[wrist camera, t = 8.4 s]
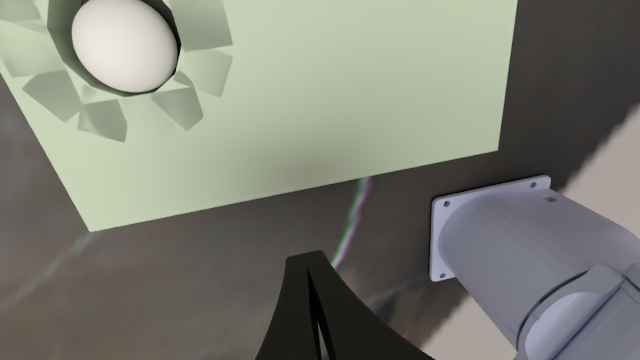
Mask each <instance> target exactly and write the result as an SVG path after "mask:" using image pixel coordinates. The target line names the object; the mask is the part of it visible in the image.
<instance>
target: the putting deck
mask: <svg viewBox="0 0 640 360" xmlns="http://www.w3.org/2000/svg"><path fill="white" fill-rule="evenodd" d="M163 1H164V3H165V4H166V5H167V6H168V7H169V8H170V9H171V10H172V14H173V17H174V20H175V24H176V27H177V30H178V34H179V37H180V40H181V43H182V46H181V50H180V55H179V59H178V64H177V68H176V72H175V75H173V76H172V77H171V78H170V79H169V80H168V81H167V82H166V83H165V84H164V85H162V86H160V87H157V88H155V89H153V90H150V91H145V92H126V91H121V90H118V89H115V88H112V87H110V86H108V85H106V84H104V83H103V82H101V81H99V80H98V79H97V78H95V77H94V76H93V75H92V74H91V73H90V72H89V71H88V70H87V69H86V68H85V67H84V65H83V64H82V62H81V61H80V60H79V58H78V56H77V54H76V51H75V49H74V45H73V41H72V25H73V21H74V18H75V16H76V14H77V12H78V11H79V10H80V8H81V0H0V72H1V74H2V76H3V78H4V80H5V81H6V83H7V85H8V87H9V88H10V90H11V92H12V94H13V96H14V97H15V99H16V101H17V103H18V104H19V106H20V108H21V110H22V112H23V113H24V115H25V117H26V119H27V121H28V122H29V124H30V126H31V128H32V129H33V131H34V133H35V135H36V137H37V138H38V140H39V142H40V144H41V145H42V147H43V149H44V151H45V153H46V154H47V156H48V158H49V160H50V161H51V163H52V165H53V167H54V169H55V170H56V172H57V174H58V176H59V178H60V179H61V181H62V183H63V185H64V186H65V188H66V190H67V192H68V194H69V195H70V197H71V199H72V201H73V202H74V204H75V206H76V208H77V210H78V211H79V213H80V215H81V217H82V219H83V220H84V222H85V224H86V226H87V227H88V229H89V231H90V232H93V231H98V230H103V229H108V228H113V227H118V226H123V225H128V224H133V223H138V222H143V221H148V220H153V219H158V218H163V217H168V216H173V215H178V214H183V213H188V212H193V211H198V210H203V209H208V208H213V207H218V206H223V205H228V204H233V203H238V202H243V201H248V200H253V199H258V198H263V197H268V196H273V195H277V194H282V193H287V192H292V191H297V190H302V189H307V188H312V187H317V186H322V185H327V184H332V183H337V182H342V181H347V180H352V179H357V178H362V177H367V176H372V175H377V174H382V173H387V172H392V171H397V170H402V169H407V168H412V167H417V166H422V165H427V164H432V163H437V162H442V161H447V160H452V159H457V158H462V157H467V156H472V155H477V154H482V153H487V152H492V151H497V150H498V143H499V136H500V128H501V121H502V113H503V106H504V98H505V91H506V83H507V75H508V68H509V60H510V53H511V45H512V38H513V30H514V23H515V15H516V8H517V0H163Z"/></svg>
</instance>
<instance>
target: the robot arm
mask: <svg viewBox="0 0 640 360" xmlns="http://www.w3.org/2000/svg"><path fill="white" fill-rule="evenodd" d="M550 182H551V179H550V177H548V176H546V175H540V176H536V177H531V178H526V179H522V180H517V181H512V182H508V183H503V184H498V185H493V186H489V187H484V188H479V189H475V190H470V191H465V192H461V193H456V194H451V195H447V196H442V197H438V198H436V199H434V201H433V202H432V215H431V244H430V273H429V276H430V278H431V280H432V281H440V280H444V279H448V278H452V277H456V278H457V279H458V280H459V281H460V282H461V284H462V285H463V286H464V287H465V289H466V290H467V291H468V292H469V293H470V295H471V296H472V297H473V298H474V300H475V301H476V302H477V303H478V304H479V306H480V307H481V308H482V309H483V311H484V312H485V313H486V314H487V315H488V316H489V318H490V319H491V320H492V322H493V323H494V324H495V325H496V326H497V328H498V329H499V330H500V331H501V333H502V334H503V335H504V336H505V337H506V339H507V340H508V341H509V342H510V344H511V345H512V346H513V347H514V348H515V350H516V351H517V352H518V353H517V355H516V357H515V358H514V360H640V240H639V239H638V238H637V237H636V236H635V235H634V234H632V233H631V232H630V231H628V230H627V229H625V228H623V227H622V226H620V225H618V224H616V223H615V222H613V221H611V220H609V219H607V218H605V217H603V216H601V215H599V214H597V213H595V212H594V211H592V210H590V209H588V208H586V207H584V206H582V205H580V204H578V203H576V202H574V201H573V200H571V199H568V198H567V197H565V196H563V195H561V194H559V193H557V192H555V191H553V190H552V189H550V188H549V187H550ZM446 201H447V203H446V204H444V203H445V202H446ZM317 320H318V321H317ZM318 323H319V327H320V330H321V333H322V336H323V340H324V343H325V346H326V349H327V353H328V356H329V359H330V360H435V359H433V358H432V357H430V356H429V355H427V354H426V353H424V352H423V351H421V350H420V349H419V348H417V347H416V346H414V345H413V344H412V343H410V342H409V341H408V340H406V339H405V338H403V337H402V336H401V335H399V334H398V333H397V332H395V331H394V330H393V329H392V328H391V327H389V326H388V325H387V324H386V323H385V322H383V321H382V320H381V319H380V318H379V317H378V316H377V315H375V314H374V313H373V312H372V311H371V310H370V309H369V308H368V307H367V306H366V305H365V304H364V303H363V302H362V301H361V300H360V299H359V298H358V297H357V296H356V295H355V294H354V293H353V291H352V290H351V289H350V288H349V287H348V286H347V285H346V283H345V282H344V281H343V280H342V279H341V277H340V276H339V275H338V274H337V272H336V271H335V270H334V268H333V267H332V265H331V264H330V262H329V261H328V259H327V258H326V256H325V254H324V252H323V251H321V250H318V251H313V252H309V253H304V254H300V255H295V256H291V257H288V258H287V259H286V266H285V273H284V279H283V283H282V287H281V291H280V295H279V299H278V302H277V306H276V309H275V311H274V314H273V317H272V320H271V323H270V326H269V329H268V331H267V334H266V336H265V339H264V341H263V343H262V346H261V348H260V350H259V352H258V354H257V357H256V359H255V360H322V358H321V348H320V339H319V330H318Z"/></svg>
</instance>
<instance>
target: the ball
mask: <svg viewBox="0 0 640 360" xmlns="http://www.w3.org/2000/svg"><path fill="white" fill-rule="evenodd" d="M72 41H73V45H74V49H75V51H76V54H77V56H78V58H79V60H80V61H81V62H82V64H83V65H84V67H85V68H86V69H87V70H88V71H89V72H90V73H91V74H92V75H93V76H94V77H95V78H97V79H98V80H99V81H101V82H103V83H104V84H106V85H108V86H110V87H112V88H115V89H118V90H121V91H126V92H145V91H150V90H153V89H155V88H157V87H159V86H161V85H162V84H164V83H165V82H166V81H167V80H168V79H169V78H170V76H171V75H172V73H173V71H174V69H175V67H176V64H177V57H178V50H177V43H176V40H175V37H174V34H173V32H172V30H171V28H170V27H169V25H168V24H167V22H166V21H165V20H164V18H163V17H162V16H161V15H160V14H159V13H158V12H157V11H155V10H154V9H153V8H152V7H150V6H149V5H147V4H145V3H144V2H142V1H140V0H90V1H88V2H87V3H85V4H84V5H83V6H82V7H81V8H80V10H79V11H78V12H77V14H76V16H75V18H74V21H73V25H72Z"/></svg>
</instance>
